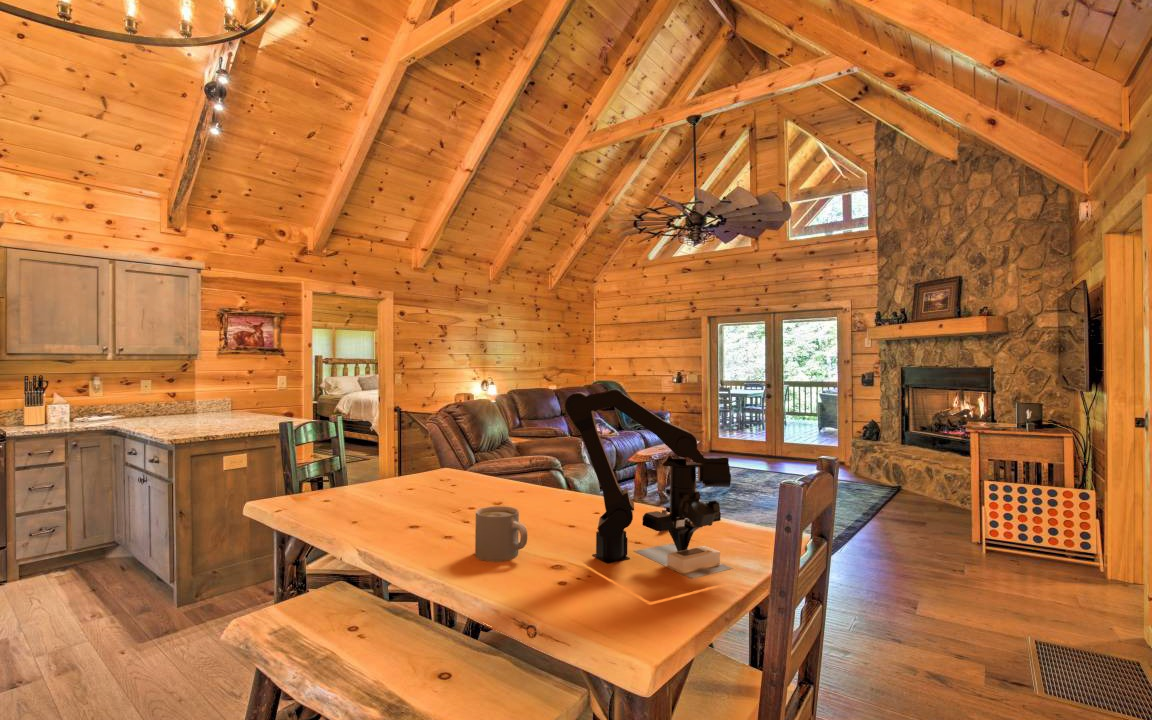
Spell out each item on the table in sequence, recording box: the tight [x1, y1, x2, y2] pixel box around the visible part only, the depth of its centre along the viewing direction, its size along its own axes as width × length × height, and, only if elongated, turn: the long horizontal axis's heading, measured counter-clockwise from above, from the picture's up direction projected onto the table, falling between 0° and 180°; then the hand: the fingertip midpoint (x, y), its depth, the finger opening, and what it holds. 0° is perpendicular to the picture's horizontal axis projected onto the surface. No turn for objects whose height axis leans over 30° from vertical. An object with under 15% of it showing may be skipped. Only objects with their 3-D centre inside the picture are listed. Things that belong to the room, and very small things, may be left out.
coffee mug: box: [474, 505, 528, 563], centre depth 131 cm, size 13×10×10 cm
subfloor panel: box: [633, 542, 733, 579], centre depth 128 cm, size 12×20×1 cm, turn 31°
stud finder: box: [667, 545, 721, 572], centre depth 125 cm, size 11×5×3 cm, turn 122°
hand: (681, 555), depth 128 cm, fingers closed, pressing on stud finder
